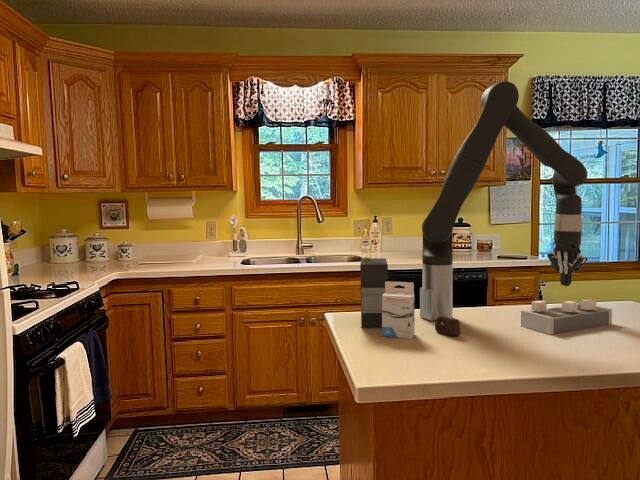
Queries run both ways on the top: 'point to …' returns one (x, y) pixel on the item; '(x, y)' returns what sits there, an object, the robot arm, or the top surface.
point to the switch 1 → (539, 306)
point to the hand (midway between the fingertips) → (565, 285)
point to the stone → (448, 326)
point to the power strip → (565, 319)
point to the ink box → (398, 310)
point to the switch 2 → (569, 306)
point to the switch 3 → (588, 304)
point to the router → (372, 290)
